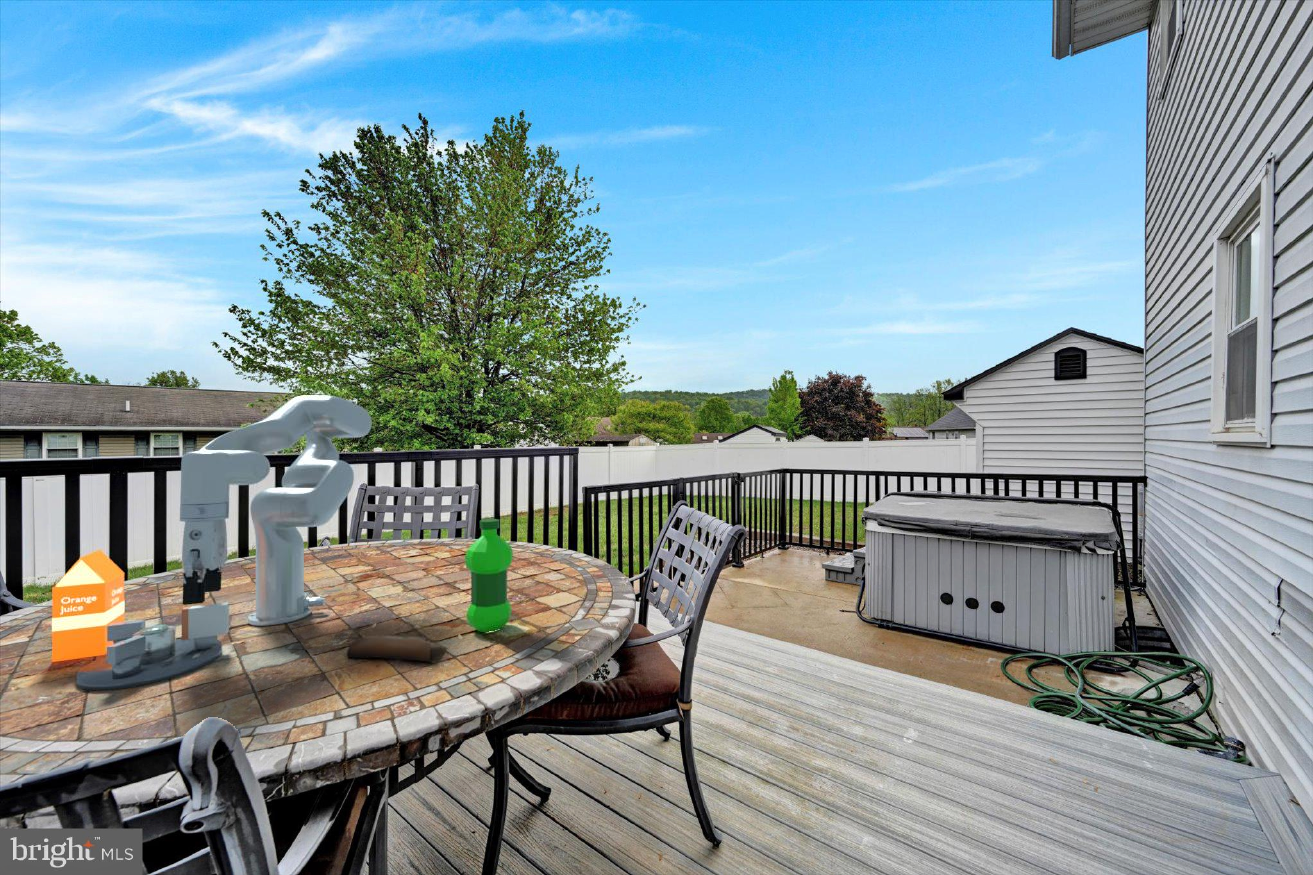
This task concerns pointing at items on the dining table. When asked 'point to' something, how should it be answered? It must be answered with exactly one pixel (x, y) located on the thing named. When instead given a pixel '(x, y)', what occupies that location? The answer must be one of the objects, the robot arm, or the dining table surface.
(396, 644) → the sunglasses case
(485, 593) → the plastic bottle
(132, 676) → the tribrach base
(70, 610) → the orange juice
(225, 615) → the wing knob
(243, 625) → the dining table surface
